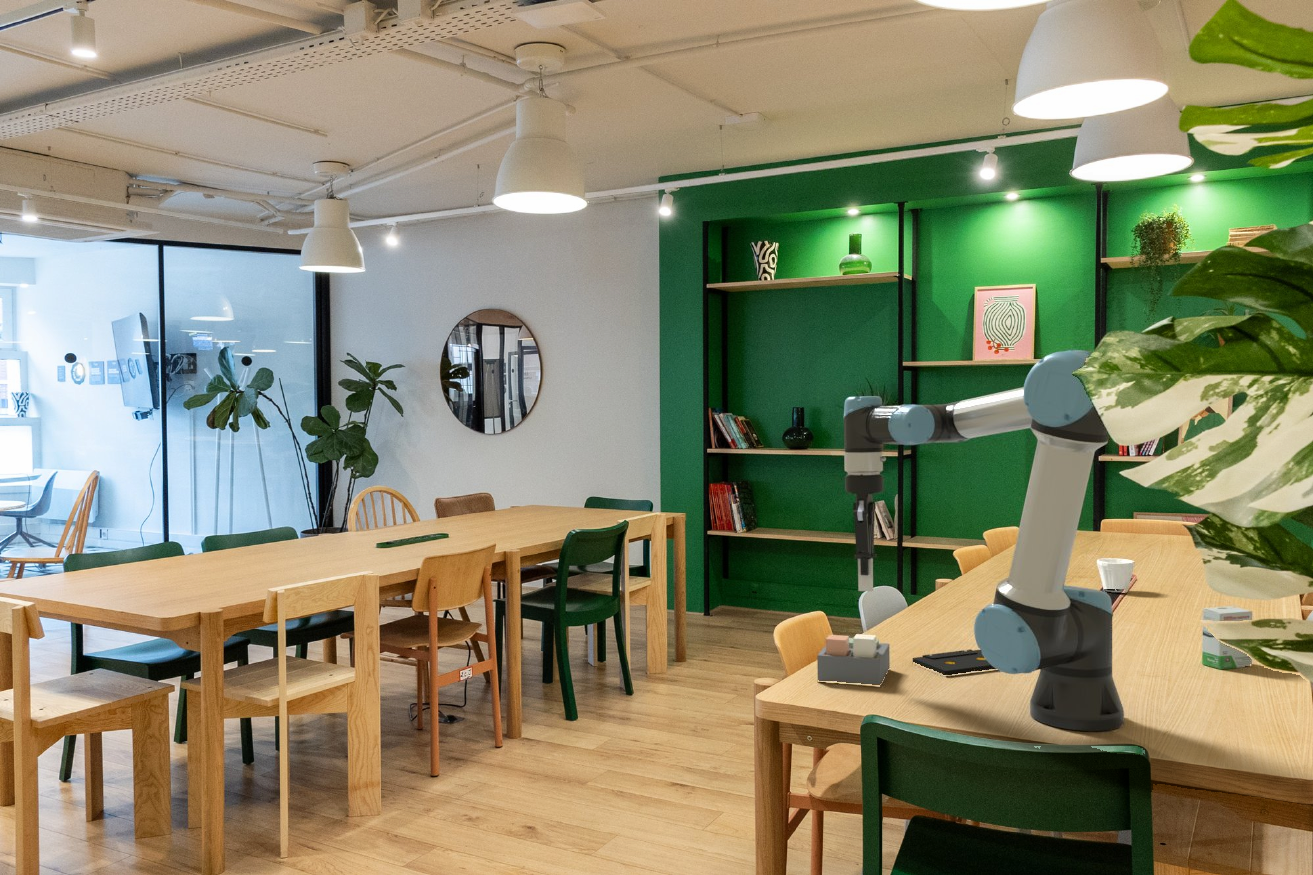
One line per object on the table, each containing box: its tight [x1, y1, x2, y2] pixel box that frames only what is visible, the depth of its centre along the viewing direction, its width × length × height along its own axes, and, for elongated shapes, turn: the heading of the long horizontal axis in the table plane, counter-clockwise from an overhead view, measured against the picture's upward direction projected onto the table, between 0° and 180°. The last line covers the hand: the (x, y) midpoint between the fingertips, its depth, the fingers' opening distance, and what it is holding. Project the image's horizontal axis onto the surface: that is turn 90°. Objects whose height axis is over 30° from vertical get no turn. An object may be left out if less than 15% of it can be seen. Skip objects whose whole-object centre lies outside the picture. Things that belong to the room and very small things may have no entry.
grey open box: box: [816, 637, 891, 685], centre depth 201 cm, size 14×12×6 cm
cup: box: [1096, 557, 1135, 594], centre depth 286 cm, size 10×10×9 cm
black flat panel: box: [912, 649, 996, 675], centre depth 208 cm, size 18×12×2 cm, turn 110°
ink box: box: [1201, 605, 1253, 670], centre depth 204 cm, size 9×5×12 cm, turn 105°
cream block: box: [852, 633, 877, 658], centre depth 197 cm, size 4×4×6 cm
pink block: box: [825, 634, 850, 656], centre depth 199 cm, size 4×4×6 cm
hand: (865, 590), depth 196 cm, fingers closed
